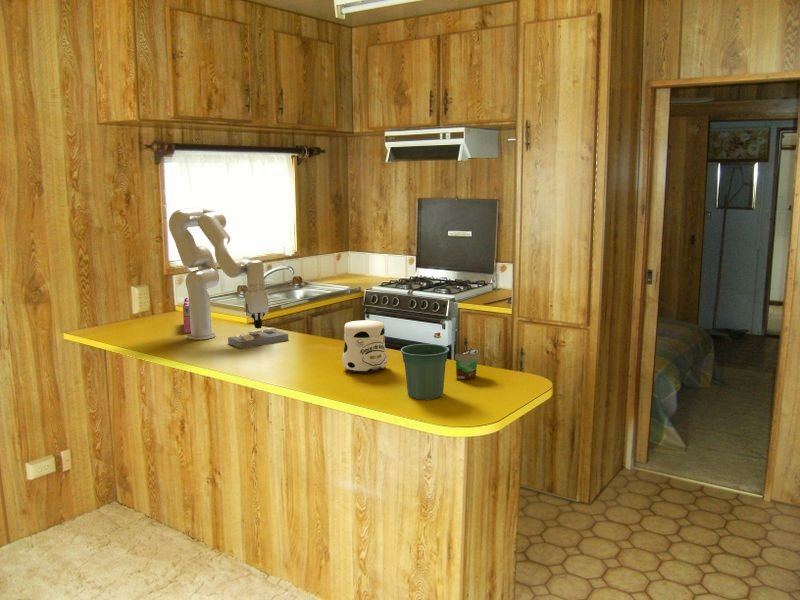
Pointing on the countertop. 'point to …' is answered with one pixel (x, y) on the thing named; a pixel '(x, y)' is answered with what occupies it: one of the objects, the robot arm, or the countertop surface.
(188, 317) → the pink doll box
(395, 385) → the countertop surface
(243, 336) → the rocker near
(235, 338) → the switch panel
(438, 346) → the flower pot
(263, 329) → the rocker far
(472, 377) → the food container
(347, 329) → the milk container
